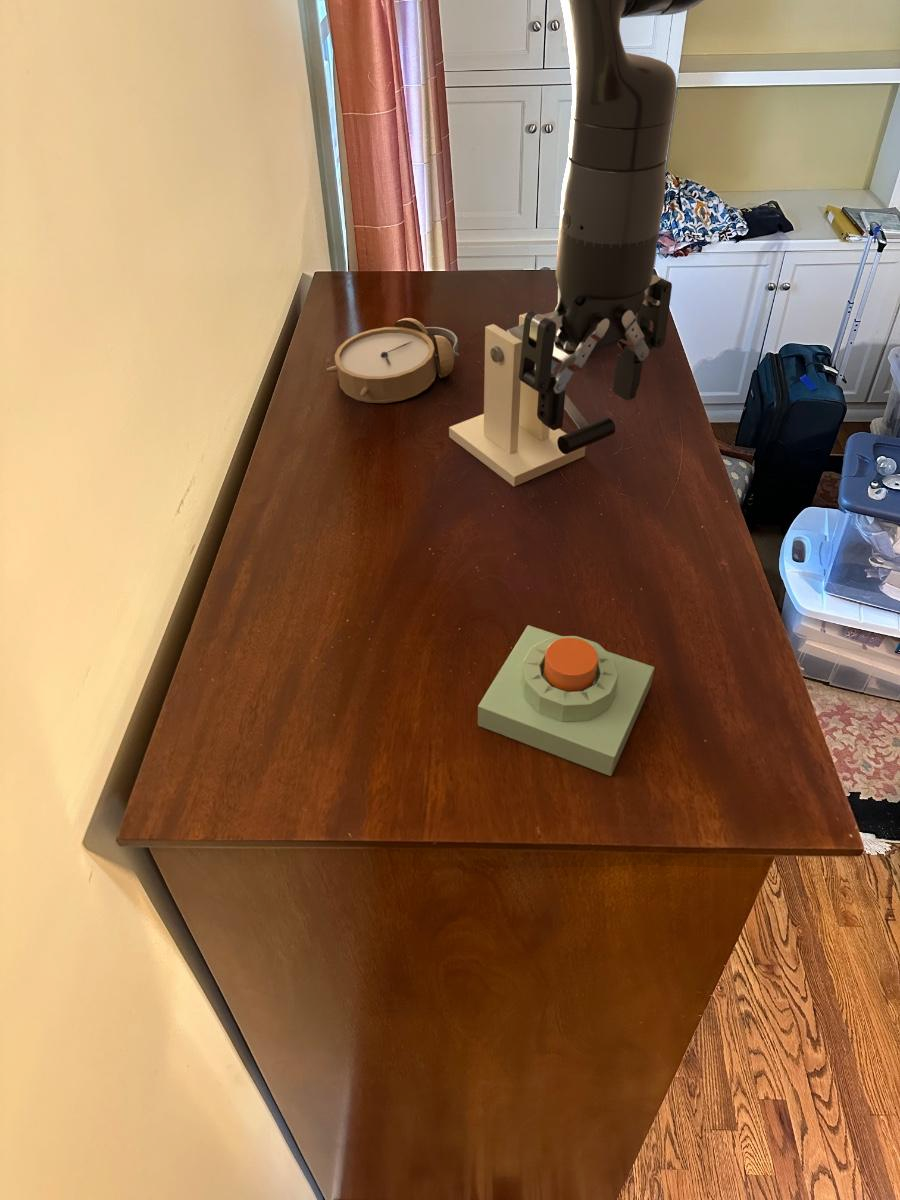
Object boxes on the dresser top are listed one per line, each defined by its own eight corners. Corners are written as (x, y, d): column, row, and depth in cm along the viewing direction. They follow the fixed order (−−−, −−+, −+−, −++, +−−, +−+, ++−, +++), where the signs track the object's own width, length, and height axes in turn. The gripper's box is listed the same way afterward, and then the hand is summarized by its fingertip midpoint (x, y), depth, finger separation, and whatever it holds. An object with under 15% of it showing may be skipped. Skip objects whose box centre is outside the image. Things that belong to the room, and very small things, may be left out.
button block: (650, 686, 64) (658, 649, 61) (611, 777, 58) (618, 740, 55) (526, 644, 67) (529, 607, 65) (477, 725, 62) (477, 688, 59)
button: (602, 664, 61) (605, 646, 60) (585, 699, 59) (587, 682, 57) (555, 648, 62) (556, 630, 61) (536, 681, 60) (537, 664, 59)
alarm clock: (313, 352, 97) (419, 295, 102) (325, 388, 101) (427, 332, 105) (367, 392, 91) (478, 329, 95) (377, 429, 94) (483, 367, 99)
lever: (609, 440, 80) (619, 425, 77) (563, 460, 77) (573, 444, 75) (530, 336, 83) (538, 318, 81) (485, 352, 81) (492, 334, 79)
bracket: (584, 456, 87) (597, 336, 78) (514, 487, 83) (519, 365, 74) (517, 410, 93) (522, 295, 84) (448, 436, 89) (446, 319, 81)
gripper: (570, 259, 60) (553, 456, 71) (712, 215, 66) (676, 404, 77) (504, 227, 64) (498, 417, 75) (643, 188, 70) (618, 370, 81)
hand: (588, 410), depth 76 cm, fingers open, 8 cm apart
